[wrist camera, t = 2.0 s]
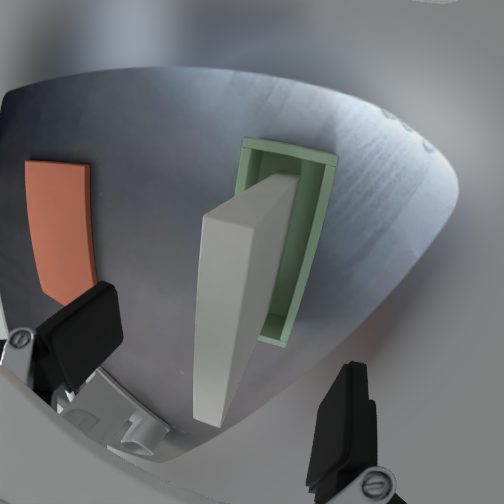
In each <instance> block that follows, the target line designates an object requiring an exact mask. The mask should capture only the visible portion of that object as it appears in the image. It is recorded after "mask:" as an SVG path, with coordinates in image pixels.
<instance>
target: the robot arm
mask: <svg viewBox="0 0 504 504" xmlns="http://www.w3.org/2000/svg"><path fill="white" fill-rule="evenodd" d="M36 332H37V334H36V335H34V332H33V331H32V330H31V329H30V328H28V327H19V328H16V329H14V330H13V331H11V332H10V334H9V335H8V337H7V339H6V340H0V504H228V503H224V502H221V501H218V500H215V499H212V498H209V497H206V496H203V495H200V494H198V493H195V492H192V491H190V490H187V489H185V488H182V487H180V486H177V485H175V484H173V483H170V482H168V481H166V480H164V479H162V478H159V477H157V476H155V475H153V474H151V473H149V472H147V471H145V470H143V469H141V468H139V467H137V466H135V465H134V464H132V463H130V462H128V461H127V460H125V459H123V458H121V457H120V456H118V455H116V454H115V453H113V452H111V451H110V450H108V449H107V448H105V447H104V446H102V445H100V444H99V443H97V442H96V441H94V440H93V439H92V438H90V437H89V436H87V435H86V434H84V433H83V432H82V431H80V430H79V429H78V428H76V427H75V426H74V425H72V424H71V423H70V422H68V421H67V420H66V419H65V418H63V417H62V416H61V415H60V414H58V413H57V394H58V387H59V386H60V385H61V387H62V388H63V389H64V390H65V391H67V392H68V393H69V394H70V393H71V392H72V391H73V390H77V389H78V388H79V387H80V386H81V385H82V384H83V383H84V382H85V381H86V380H87V379H88V378H89V377H90V375H91V374H92V373H93V372H94V371H95V370H96V369H97V368H98V367H99V366H100V365H101V364H102V363H103V362H104V361H105V360H106V359H107V358H108V357H109V356H110V355H111V353H112V352H113V351H114V350H115V349H116V348H117V347H118V346H119V345H120V344H121V343H122V341H123V331H122V324H121V318H120V311H119V303H118V295H117V291H116V290H115V287H114V285H112V284H110V283H107V282H105V281H100V282H99V283H97V284H96V285H94V286H93V287H91V288H90V289H89V290H87V291H86V292H84V293H83V294H81V295H80V296H79V297H77V298H76V299H75V300H73V301H72V302H70V303H69V304H68V305H66V306H65V307H64V308H62V309H61V310H60V311H58V312H57V313H55V314H54V315H53V316H51V317H50V318H49V319H48V320H46V321H45V322H44V323H42V324H41V325H40V326H38V327H37V328H36ZM368 396H369V395H368V379H367V367H366V364H364V363H359V362H354V361H351V362H350V363H349V364H344V365H343V367H342V369H341V370H340V372H339V374H338V376H337V378H336V379H335V381H334V383H333V384H332V386H331V388H330V389H329V391H328V393H327V394H326V396H325V398H324V399H323V401H322V402H321V404H320V406H319V409H318V413H317V420H316V427H315V433H314V440H313V446H312V452H311V458H310V463H309V469H308V474H307V479H306V486H309V493H315V499H314V501H315V504H407V503H406V502H405V501H403V500H402V499H401V498H400V497H399V496H398V495H397V494H396V493H395V491H396V487H397V482H396V478H395V476H394V475H393V473H392V472H391V471H390V470H388V469H386V468H384V467H380V466H377V415H376V404H375V401H374V400H369V397H368Z"/></svg>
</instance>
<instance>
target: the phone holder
mask: <svg viewBox="0 0 504 504" xmlns="http://www.w3.org/2000/svg"><path fill="white" fill-rule="evenodd" d="M86 381H87V384H86V385H85V386H84V387H83V388H82V390H81V391H80V392H79V393H78V394H77V395H76V396H75V397H74V398H73V400H72V401H71V402H70V403H69V404H68V405H67V406H66V407H65V409H64V410H63V411H62V412H61V413H60V415H61V416H62V417H63V418H65V419H66V420H67V421H68V422H70V423H71V424H72V425H74V426H75V427H76V428H78V429H79V430H80V431H82V432H83V433H84V434H86V435H87V436H89V437H90V438H92V439H93V440H94V441H96V442H97V443H99V444H100V445H102V446H104V447H105V448H107V444H108V443H109V442H110V441H111V439H112V438H113V437H114V436H115V435H116V434H117V432H118V431H119V430H120V429H121V428H122V427H123V425H124V424H125V423H126V422H127V421H128V419H129V420H130V421H131V422H132V423H133V424H132V426H131V427H130V429H129V430H128V431H127V433H126V434H125V436H124V437H123V439H122V440H121V443H122V444H123V445H124V446H125V447H126V448H127V449H129V450H130V451H132V452H134V453H136V454H138V455H153V454H154V453H155V451H156V450H157V448H158V446H159V445H160V443H161V441H162V440H163V438H164V436H165V434H166V433H167V432H169V431H170V429H171V427H170V426H169V425H168V424H167V423H165V422H164V421H163V420H161V419H160V418H159V417H157V416H156V415H155V414H153V413H152V412H151V411H150V410H148V409H147V408H146V407H145V406H143V405H142V404H141V403H140V402H139V401H137V400H136V399H135V398H134V397H133V396H132V395H130V394H129V393H128V392H127V391H126V390H125V389H124V388H123V387H121V386H120V385H119V384H118V383H117V382H116V381H115V380H114V379H113V378H112V377H111V376H110V375H109V374H108V373H107V372H106V371H105V370H104V369H103V368H101V367H100V366H99V367H98V368H97V369H96V370H95V371H94V372H93V373H92V374H91V375H90V377H89V378H88V379H87V380H86Z"/></svg>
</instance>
